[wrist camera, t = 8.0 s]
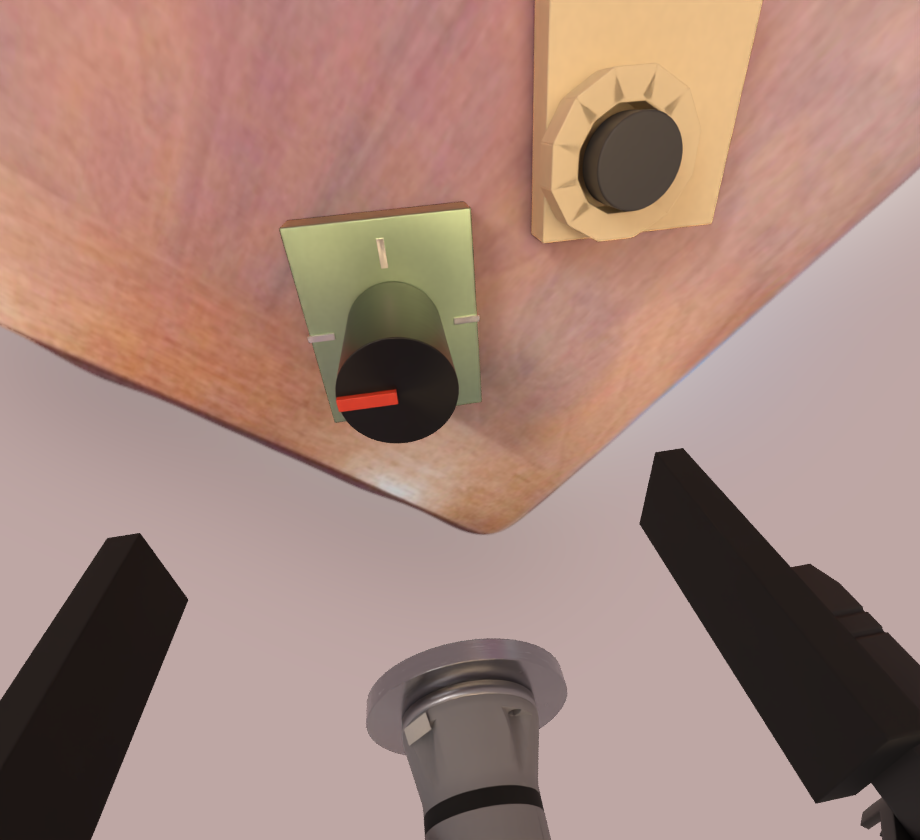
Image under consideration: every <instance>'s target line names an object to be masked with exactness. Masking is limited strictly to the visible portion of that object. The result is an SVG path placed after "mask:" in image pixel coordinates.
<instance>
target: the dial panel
mask: <svg viewBox="0 0 920 840" xmlns="http://www.w3.org/2000/svg"><path fill="white" fill-rule="evenodd" d="M279 231H280V234H281V238H282V241H283V245H284V248H285V252H286V255H287V258H288V262H289V265H290V269H291V272H292V276H293V279H294V283H295V286H296V290H297V293H298V297H299V300H300V303H301V307H302V310H303V314H304V317H305V321H306V324H307V328H308V331H309V335H310V336H307V338H308V342H309V343H312V345H313V349H314V352H315V355H316V359H317V362H318V366H319V369H320V373H321V376H322V380H323V383H324V387H325V390H326V394H327V397H328V401H329V404H330V407H331V411H332V414H333V418H334V421H335V422H336V423H337V422H344V421H346V419H345V418H344V417H343V415H342V413H341V412H339V410H338V407H337V403H336V396H335V386H336V379H337V373H338V368H339V362H340V357H341V351H342V346H343V340H344V335H345V329H346V324H347V318H348V314H349V311H350V309H351V306H352V305H353V303H354V301H355V300H356V299H357V298H358V296H359V295H361V294H362V293H363V292H364V291H366V290H367V289H369V288H370V287H373V286H375V285H378V284H381V283H386V282H401V283H405V284H409V285H412V286H414V287H416V288H418V289H420V290H421V291H422V292H424V293H425V294H426V295H427V296H428V297H429V298H430V299H431V300H432V301H433V303H434V304H435V306H436V308H437V310H438V312H439V315H440V318H441V322H442V325H443V329H444V332H445V336H446V339H447V343H448V346H449V350H450V353H451V357H452V360H453V364H454V367H455V371H456V374H457V378H458V383H459V396H458V401H457V405H464V404H471V403H478V402H482V395H481V377H480V360H479V342H478V324H477V322H479V321H480V316H479V314H477V307H476V289H475V272H474V254H473V237H472V219H471V208H470V207H469V206H468V205H467V204H466V203H465V202H454V203H445V204H436V205H426V206H417V207H408V208H398V209H389V210H380V211H371V212H361V213H352V214H343V215H333V216H324V217H315V218H305V219H296V220H287V221H286V222H285V223H284V224H283V225H282V226H281V227H280V228H279ZM457 405H456V406H457Z"/></svg>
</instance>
